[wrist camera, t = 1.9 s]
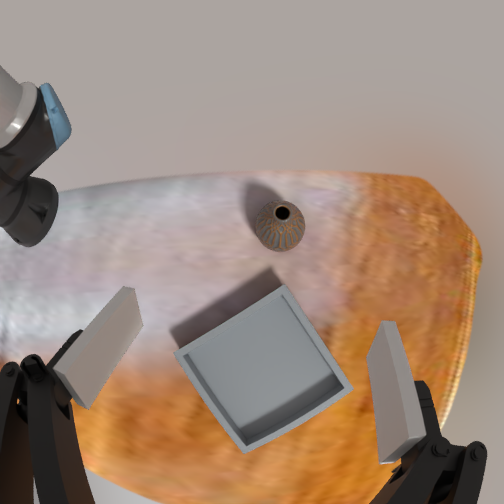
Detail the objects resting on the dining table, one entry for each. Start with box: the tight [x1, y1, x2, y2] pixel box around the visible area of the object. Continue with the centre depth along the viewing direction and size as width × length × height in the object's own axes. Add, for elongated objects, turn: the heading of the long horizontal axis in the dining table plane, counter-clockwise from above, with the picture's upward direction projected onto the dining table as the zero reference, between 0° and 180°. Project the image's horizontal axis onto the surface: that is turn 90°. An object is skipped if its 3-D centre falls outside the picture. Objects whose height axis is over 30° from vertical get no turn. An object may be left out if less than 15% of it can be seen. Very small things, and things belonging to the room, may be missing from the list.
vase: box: [256, 201, 305, 252], centre depth 38 cm, size 7×7×9 cm
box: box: [173, 284, 353, 454], centre depth 36 cm, size 18×18×4 cm
